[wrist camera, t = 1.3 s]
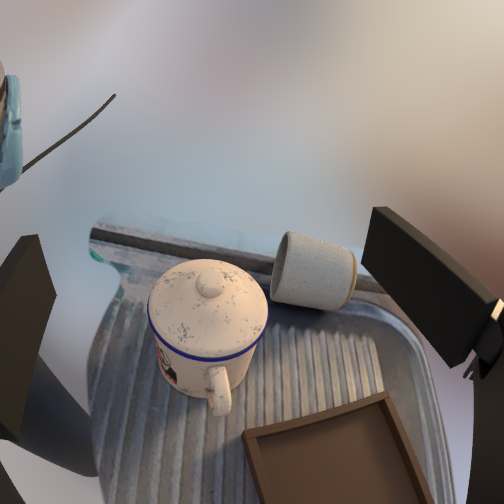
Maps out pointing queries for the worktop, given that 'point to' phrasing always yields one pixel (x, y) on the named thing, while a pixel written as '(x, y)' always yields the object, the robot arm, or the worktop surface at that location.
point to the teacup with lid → (206, 328)
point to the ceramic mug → (312, 273)
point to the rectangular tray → (337, 457)
